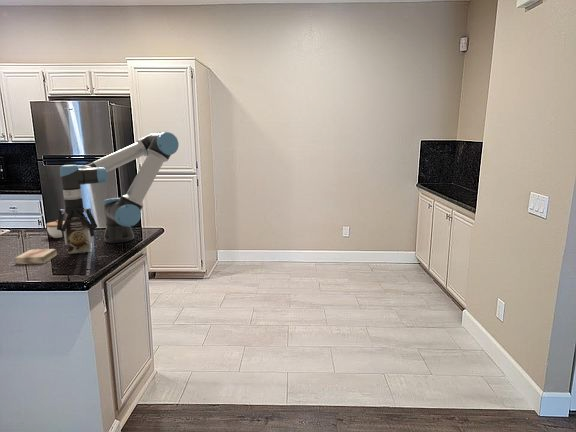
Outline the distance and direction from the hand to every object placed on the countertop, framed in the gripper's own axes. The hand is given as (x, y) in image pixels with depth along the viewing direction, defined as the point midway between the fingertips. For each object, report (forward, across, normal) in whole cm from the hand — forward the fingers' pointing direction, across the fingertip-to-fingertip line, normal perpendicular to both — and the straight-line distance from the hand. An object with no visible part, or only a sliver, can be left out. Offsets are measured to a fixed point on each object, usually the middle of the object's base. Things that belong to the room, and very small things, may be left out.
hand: (79, 243), depth 185 cm
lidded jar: (+5, -25, +34) cm, 43 cm away
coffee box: (+4, 0, 0) cm, 4 cm away
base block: (+5, -16, -7) cm, 19 cm away
